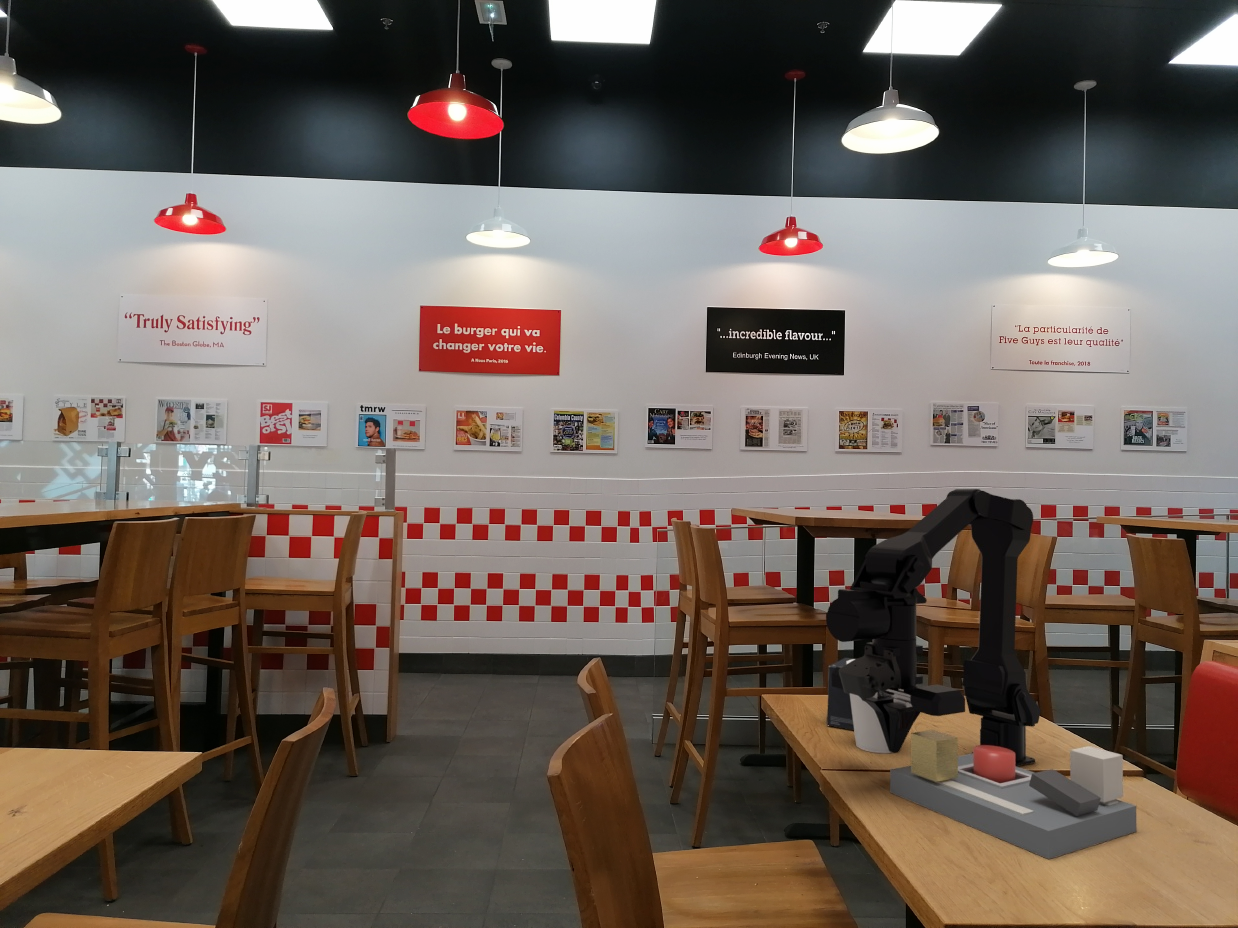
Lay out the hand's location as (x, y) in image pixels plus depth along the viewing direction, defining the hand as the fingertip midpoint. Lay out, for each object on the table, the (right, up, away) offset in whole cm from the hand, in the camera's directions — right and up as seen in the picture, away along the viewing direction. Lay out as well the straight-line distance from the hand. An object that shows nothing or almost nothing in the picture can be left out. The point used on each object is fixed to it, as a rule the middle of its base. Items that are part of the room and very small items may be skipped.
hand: (894, 751), depth 107 cm
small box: (+4, -7, +31) cm, 32 cm away
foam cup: (+3, -6, +17) cm, 19 cm away
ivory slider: (+21, -1, -12) cm, 24 cm away
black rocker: (+15, +1, -15) cm, 21 cm away
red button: (+12, -4, -4) cm, 13 cm away
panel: (+11, -4, -8) cm, 15 cm away
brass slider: (+3, -1, -6) cm, 7 cm away
